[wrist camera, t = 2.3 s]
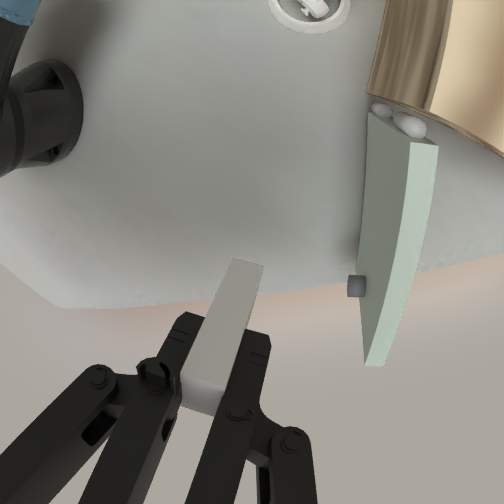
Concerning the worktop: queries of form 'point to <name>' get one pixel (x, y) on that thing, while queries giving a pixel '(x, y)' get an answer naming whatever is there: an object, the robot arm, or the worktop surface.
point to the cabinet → (445, 64)
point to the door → (391, 223)
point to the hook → (318, 9)
